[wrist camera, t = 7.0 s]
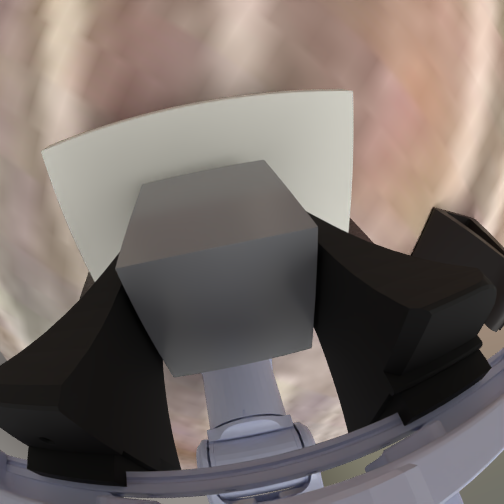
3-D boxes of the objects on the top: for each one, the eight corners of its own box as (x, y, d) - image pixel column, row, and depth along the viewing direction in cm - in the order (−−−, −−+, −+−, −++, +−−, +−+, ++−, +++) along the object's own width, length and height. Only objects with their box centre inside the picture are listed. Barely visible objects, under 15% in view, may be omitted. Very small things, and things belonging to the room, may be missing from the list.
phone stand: (409, 256, 28) (478, 338, 18) (432, 206, 24) (518, 282, 15) (453, 260, 30) (512, 325, 20) (474, 218, 27) (542, 280, 17)
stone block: (272, 258, 13) (311, 347, 9) (172, 279, 12) (173, 377, 8) (263, 159, 10) (318, 226, 6) (142, 184, 10) (114, 269, 6)
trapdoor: (317, 284, 23) (337, 320, 20) (144, 320, 22) (142, 361, 18) (317, 84, 14) (352, 91, 11) (71, 132, 13) (41, 151, 10)
